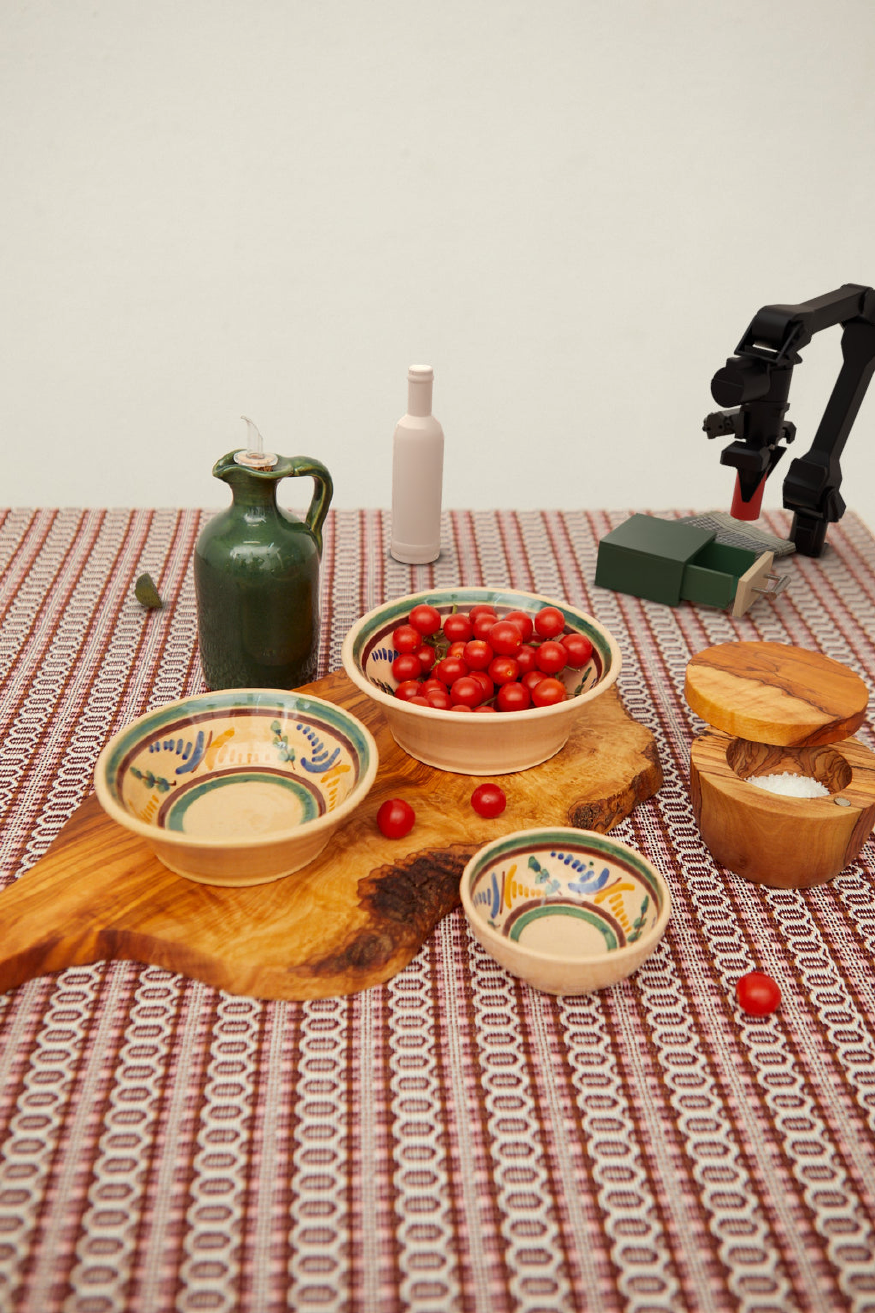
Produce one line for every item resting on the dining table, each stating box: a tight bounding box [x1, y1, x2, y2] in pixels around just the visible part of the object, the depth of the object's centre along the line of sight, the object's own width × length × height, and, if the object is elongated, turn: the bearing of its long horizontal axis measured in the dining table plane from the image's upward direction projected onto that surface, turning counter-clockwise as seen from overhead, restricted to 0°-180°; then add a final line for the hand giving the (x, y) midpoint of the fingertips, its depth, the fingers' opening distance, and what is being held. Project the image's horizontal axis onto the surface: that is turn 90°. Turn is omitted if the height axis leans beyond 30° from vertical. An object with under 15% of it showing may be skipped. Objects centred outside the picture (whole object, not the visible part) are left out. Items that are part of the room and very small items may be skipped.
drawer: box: [680, 540, 792, 618], centre depth 163 cm, size 16×13×6 cm
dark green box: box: [593, 512, 717, 609], centre depth 168 cm, size 13×14×7 cm
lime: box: [133, 572, 164, 609], centre depth 154 cm, size 4×5×5 cm
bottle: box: [389, 363, 445, 565], centre depth 168 cm, size 8×8×30 cm
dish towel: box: [668, 510, 796, 562], centre depth 183 cm, size 19×18×3 cm
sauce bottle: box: [729, 470, 767, 522], centre depth 167 cm, size 4×4×10 cm
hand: (750, 497), depth 168 cm, fingers closed on sauce bottle, 4 cm apart
